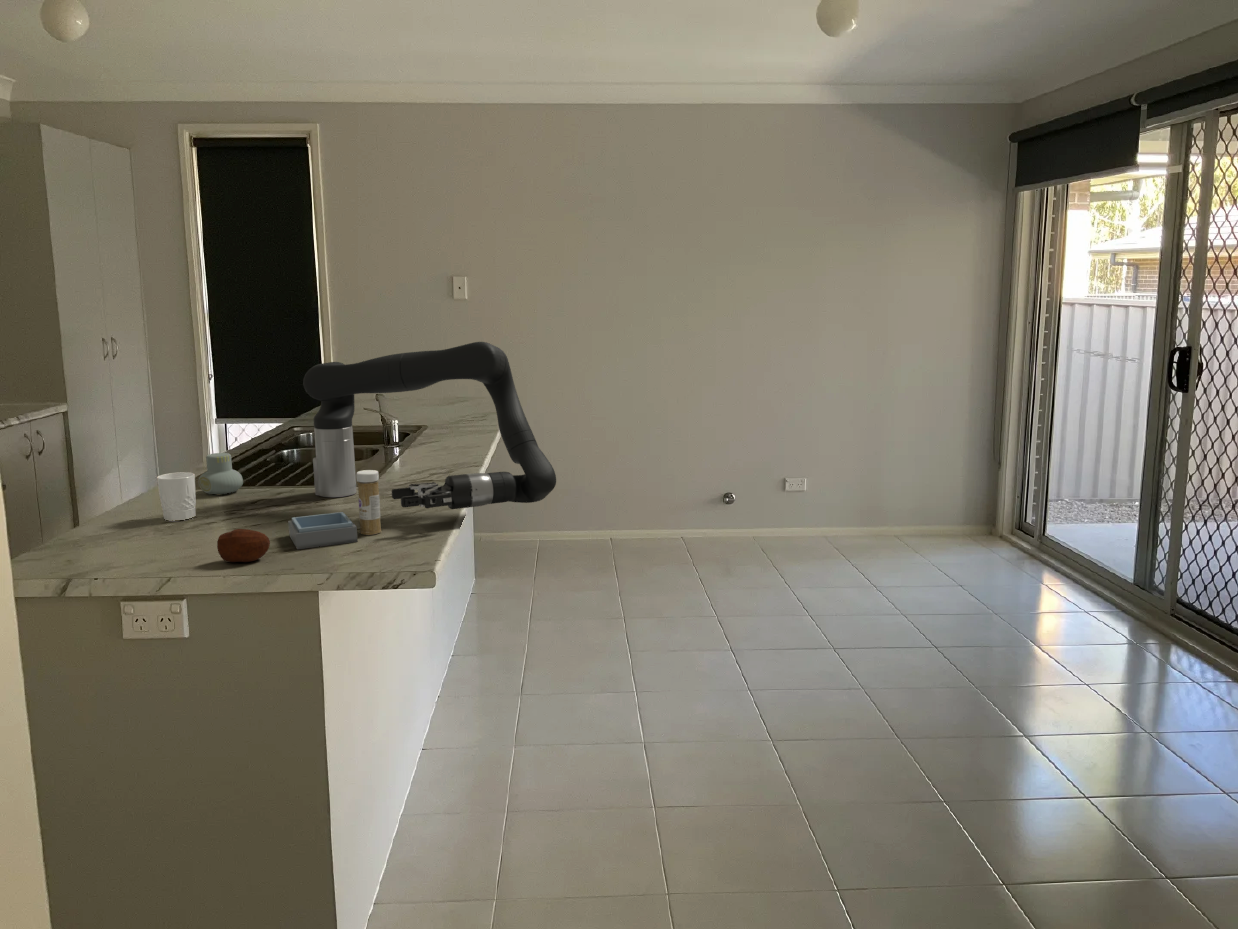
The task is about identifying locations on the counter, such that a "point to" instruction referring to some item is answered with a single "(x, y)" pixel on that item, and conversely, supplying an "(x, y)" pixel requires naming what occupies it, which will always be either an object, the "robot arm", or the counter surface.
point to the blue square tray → (322, 530)
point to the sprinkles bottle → (369, 502)
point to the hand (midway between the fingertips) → (396, 498)
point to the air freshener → (220, 475)
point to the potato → (242, 545)
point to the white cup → (177, 495)
